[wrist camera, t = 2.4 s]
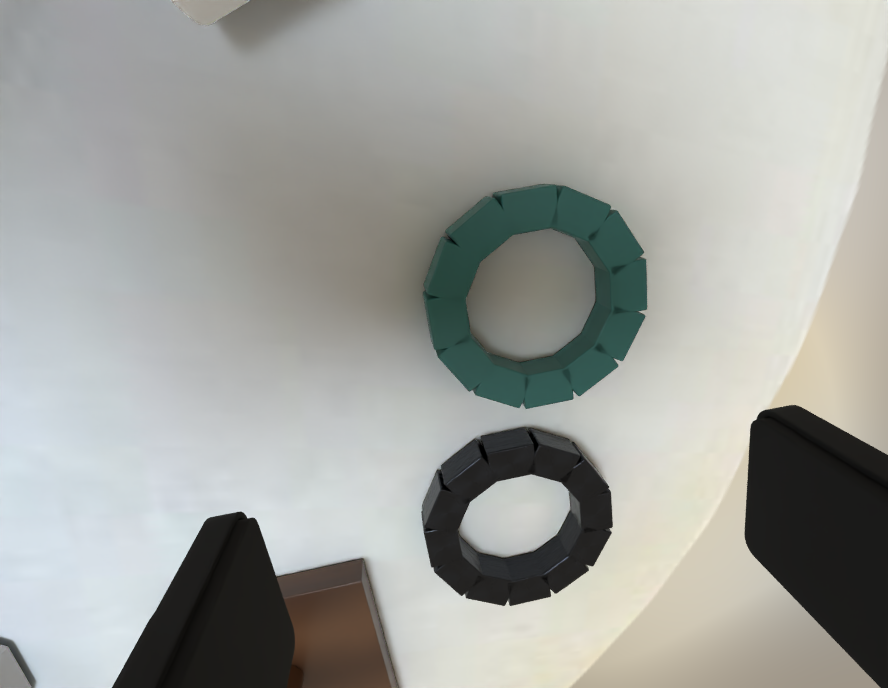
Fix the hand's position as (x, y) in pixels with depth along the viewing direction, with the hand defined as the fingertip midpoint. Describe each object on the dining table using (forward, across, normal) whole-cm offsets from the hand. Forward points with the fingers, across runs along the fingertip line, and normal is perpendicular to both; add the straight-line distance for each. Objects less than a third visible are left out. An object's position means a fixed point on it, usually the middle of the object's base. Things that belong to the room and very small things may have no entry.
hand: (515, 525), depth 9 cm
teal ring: (+13, -4, -1) cm, 14 cm away
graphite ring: (+13, -2, +10) cm, 17 cm away
